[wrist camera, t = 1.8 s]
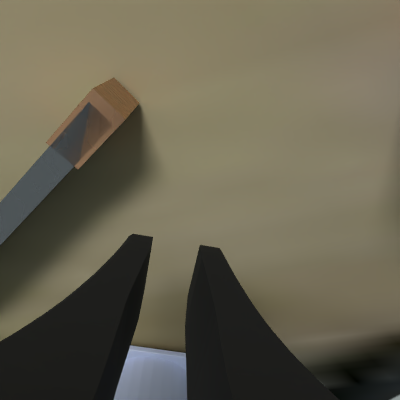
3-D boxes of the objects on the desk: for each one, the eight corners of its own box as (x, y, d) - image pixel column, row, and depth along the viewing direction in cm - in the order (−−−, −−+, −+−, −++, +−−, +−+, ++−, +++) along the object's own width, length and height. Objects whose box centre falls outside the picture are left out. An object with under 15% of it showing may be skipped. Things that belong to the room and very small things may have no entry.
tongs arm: (-24, 275, 21) (-63, 317, 18) (-47, 259, 20) (-93, 301, 17) (139, 103, 16) (125, 119, 13) (114, 77, 16) (92, 88, 13)
